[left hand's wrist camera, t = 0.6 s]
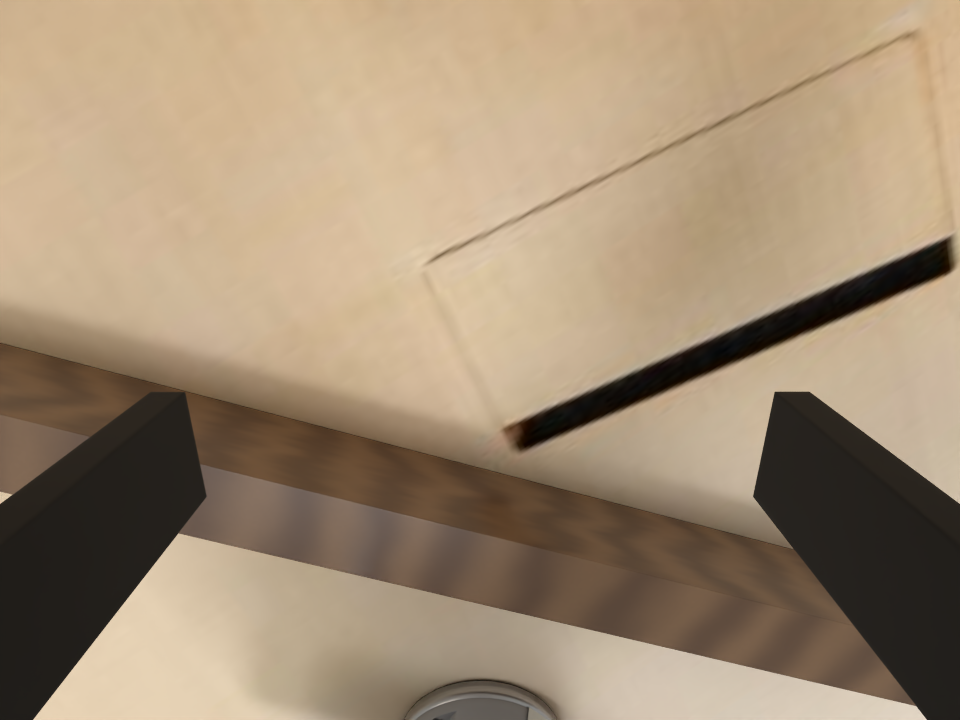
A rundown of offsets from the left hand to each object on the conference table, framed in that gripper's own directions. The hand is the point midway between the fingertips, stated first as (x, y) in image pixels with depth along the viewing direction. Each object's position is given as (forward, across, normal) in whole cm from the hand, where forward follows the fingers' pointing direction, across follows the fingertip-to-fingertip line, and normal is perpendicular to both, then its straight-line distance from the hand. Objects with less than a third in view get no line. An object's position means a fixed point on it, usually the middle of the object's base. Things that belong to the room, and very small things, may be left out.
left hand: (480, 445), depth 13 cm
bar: (+26, +1, +19) cm, 32 cm away
